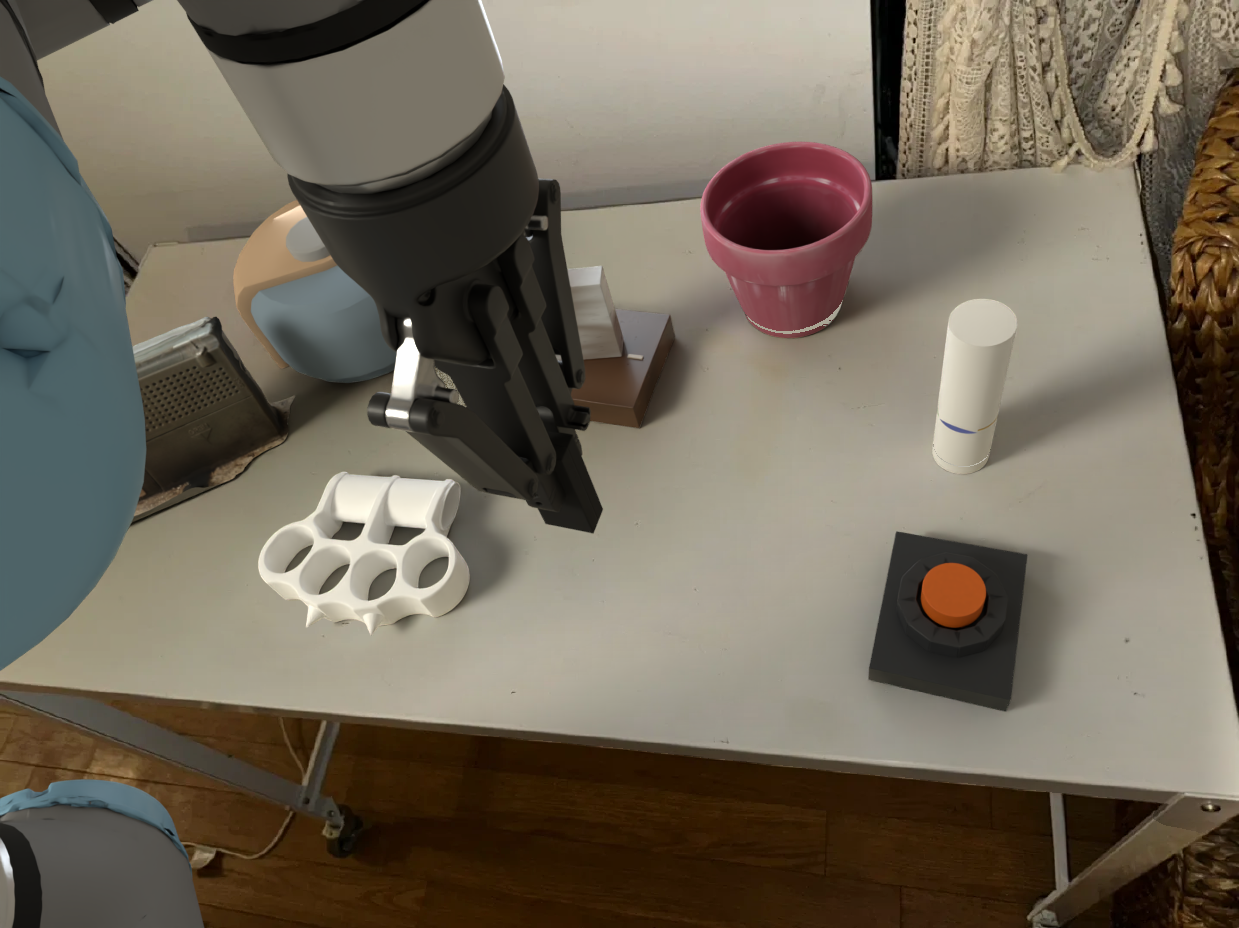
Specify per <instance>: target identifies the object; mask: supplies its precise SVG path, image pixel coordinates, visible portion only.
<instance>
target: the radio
mask: <svg viewBox="0 0 1239 928" xmlns="http://www.w3.org/2000/svg"><path fill="white" fill-rule="evenodd" d="M222 325H223V324H222V323H221V320H220V318H219V317H217V316H213V317H209V316H204V317H203V318H199V319H198V320H196V321H194V322H191V323H187V324H184V325H181V326H178V327H176V328H173V329H170V330H168V331H166V332H164V333H162V334H159V335H156V336H154V337H151V338H149V339H147V340H145V341H142V342H139V343H136V344H135V345H132V348H133V353H134V359H135V364H136V370H137V375H138V381H139V386H140V392H141V397H142V403H143V410H144V418H145V435H146V460H145V472H144V482H143V486H142V489H141V493H140V496H139V500H138V503H137V507H136V511H135V514H134V518H133V520H132V522H131V523H134V522H136V521H139V520H140V519H143V518H145V517H147V516H150V515H152V514H155V513H157V512H159V511H162V510H164V509H166V508H168V507H171V506H173V505H175V504H178V503H180V502H182V501H185V500H187V499H189V498H191V497H194V496H196V495H198V494H201V493H203V492H206V491H208V490H210V489H212V488H215V487H217V486H219V485H221V484H225V483H227V482H230V481H231V480H233V479H235V477H236V475H239V474H240V473H243V472H244V470H245V467H247V466H248V464H249V463H250V462H252V461H253V460H254V459H255V458H257V457H258V456H259V455H261V454H262V453H264V452H266V451H268V450H270V449H272V448H275V447H277V446H278V445H281V444H282V443H283V442H285V440H286V439H287V436H288V435H289V432H290V425H289V418H290V416H291V411H290V408H291V405H292V403H293V402H294V401H295V397H296V394H295V395H293V396H290V397H287V398H284V399H282V400H278V401H275V402H269V400H268V399H267V397H266V395H265V394H264V392H263V390H262V388H261V387H260V385H259V384H258V382H257V381H256V380H255V379H254V377H253V375H252V374H251V372H250V371H249V370H248V368H247V367H246V366H245V364H244V362H243V360H242V358H241V356H240V355H239V352H238V351H237V350H236V348H235V346H234V345H233V344H232V341H230V339H229V338H228V336H227V335H226V333H225V332H224V330H223V326H222Z"/></svg>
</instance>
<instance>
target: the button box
mask: <svg viewBox="0 0 1239 928" xmlns="http://www.w3.org/2000/svg"><path fill="white" fill-rule="evenodd" d="M892 545H893V546H892V551H891V555H890V560H889V565H888V570H887V575H886V579H885V586H884V590H883V595H882V601H881V605H880V610H879V615H878V621H877V626H876V631H875V636H874V640H873V645H872V651H871V656H870V660H869V667H868V679H867V680H868V681H872V682H875V683H880V684H885V685H889V686H893V687H898V688H902V689H906V690H911V691H915V692H920V693H922V694H928V695H932V696H937V697H940V698H945V699H950V700H953V701H958V702H962V703H967V704H970V705H974V706H975V705H976V706H979V707H983V708H987V709H992V710H997V711H1000V712H1005V713H1006V712H1007V710H1008V708H1009V706H1010V703H1011V701H1012V695H1013V684H1014V675H1015V668H1016V659H1017V649H1018V641H1019V635H1020V634H1019V633H1020V623H1021V615H1022V607H1023V597H1024V588H1025V582H1026V581H1025V579H1026V571H1027V562H1028V554H1027V553H1022V552H1017V551H1011V550H1005V549H1000V548H995V547H988V546H982V545H977V544H971V543H966V542H960V541H954V540H948V539H943V538H938V537H931V536H926V535H922V534H921V535H919V534H916V533H915V534H914V533H909V532H904V531H898V530H897V531H895V536H894V541H893V544H892ZM945 563H958V564H962V565H965V566H967V567H969V568H971V569H973V570H974V571H975V572H976V573H977V574H978V575H979V576H980V577H981V578H982V580H983V582H984V584H985V588H986V598H985V602H984V605H983V609H982V612H981V614H980V616H979V617H978V618H977V619H976V620H975V621H974V622H973V623H971V624H969V625H967V626H964V627H958V628H951V627H946V626H943V625H940V624H938V623H936V622H935V621H933V620H932V619H931V618H929V616H928V615H927V614H926V613H925V611H924V609H923V607H922V604H921V592H922V585H923V580H924V578H925V576H926V575H927V573H928V572H929V571H930V570H931V569H933V568H934V567H936V566H938V565H941V564H945Z"/></svg>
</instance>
